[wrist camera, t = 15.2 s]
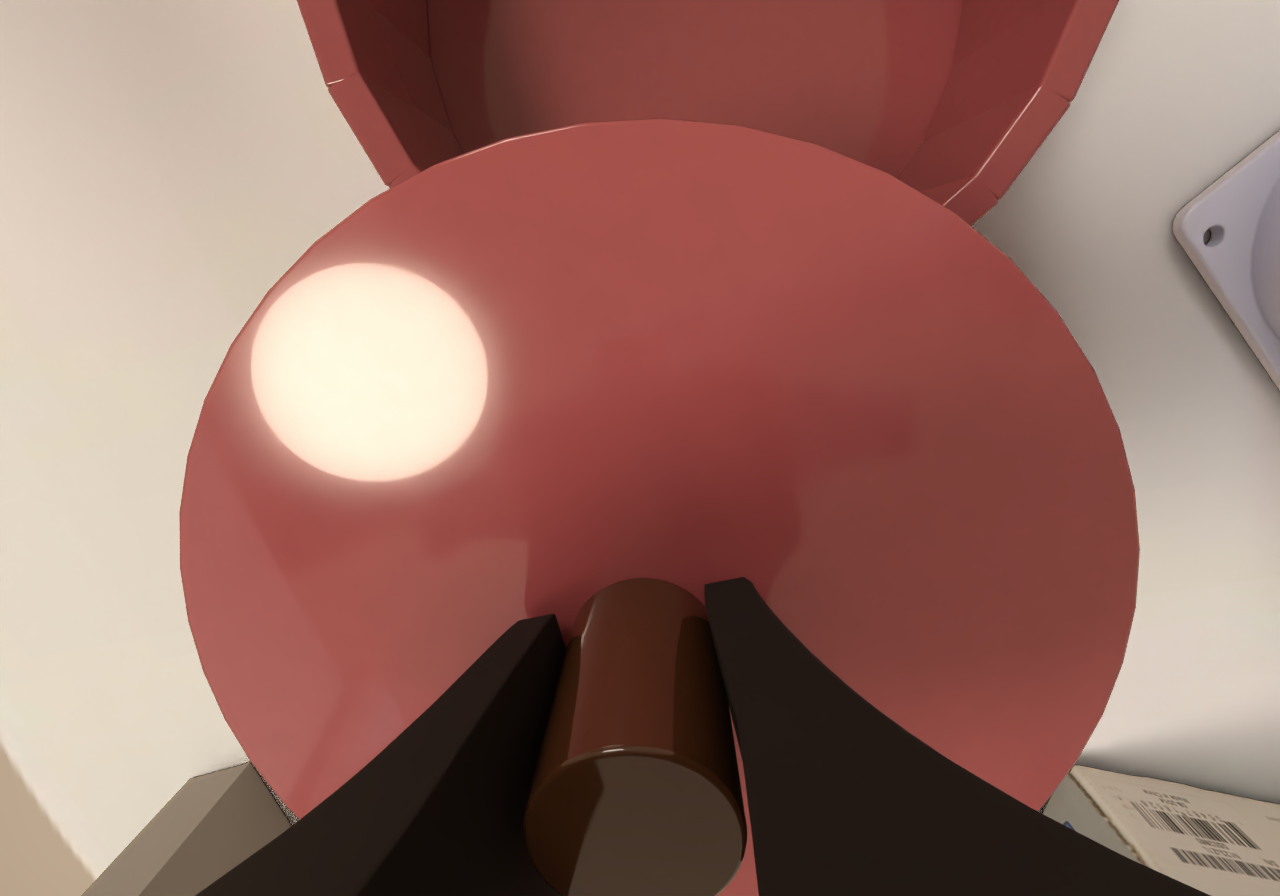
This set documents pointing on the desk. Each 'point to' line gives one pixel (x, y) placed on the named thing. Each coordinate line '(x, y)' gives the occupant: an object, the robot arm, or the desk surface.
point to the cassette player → (196, 837)
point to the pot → (718, 76)
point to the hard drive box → (1176, 829)
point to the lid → (656, 481)
